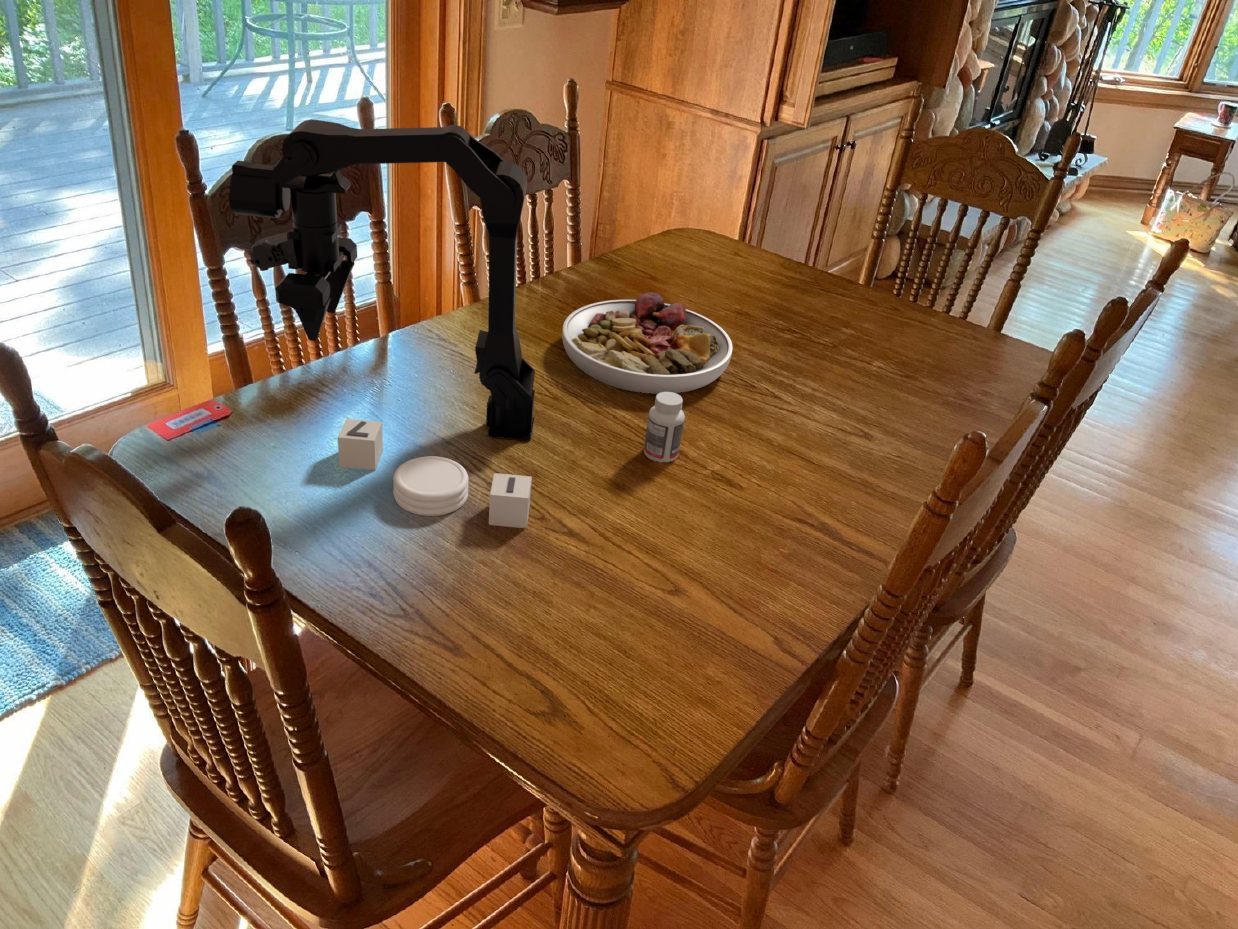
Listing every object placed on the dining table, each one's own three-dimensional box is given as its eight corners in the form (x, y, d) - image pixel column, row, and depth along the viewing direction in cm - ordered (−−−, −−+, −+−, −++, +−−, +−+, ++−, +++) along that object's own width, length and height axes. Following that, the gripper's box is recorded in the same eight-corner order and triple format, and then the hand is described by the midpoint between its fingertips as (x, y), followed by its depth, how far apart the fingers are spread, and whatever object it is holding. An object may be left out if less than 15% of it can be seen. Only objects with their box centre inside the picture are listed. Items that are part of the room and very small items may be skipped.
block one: (529, 506, 133) (531, 475, 130) (526, 528, 129) (528, 496, 126) (493, 503, 133) (494, 471, 130) (488, 525, 129) (490, 493, 126)
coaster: (386, 480, 135) (386, 459, 133) (457, 471, 139) (457, 450, 137) (402, 523, 127) (402, 501, 126) (476, 511, 131) (477, 490, 129)
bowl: (734, 411, 162) (742, 369, 158) (554, 392, 161) (557, 349, 157) (721, 332, 187) (728, 295, 183) (566, 315, 186) (569, 277, 182)
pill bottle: (670, 442, 151) (679, 387, 146) (683, 461, 147) (693, 405, 142) (637, 446, 149) (645, 390, 144) (650, 465, 145) (659, 408, 140)
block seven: (383, 451, 140) (382, 420, 138) (375, 470, 136) (374, 439, 133) (348, 448, 140) (346, 417, 137) (339, 467, 136) (337, 436, 133)
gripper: (277, 191, 138) (286, 293, 147) (229, 238, 123) (242, 349, 131) (355, 200, 139) (360, 301, 147) (318, 248, 123) (325, 358, 132)
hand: (322, 325), depth 139 cm, fingers open, 9 cm apart
